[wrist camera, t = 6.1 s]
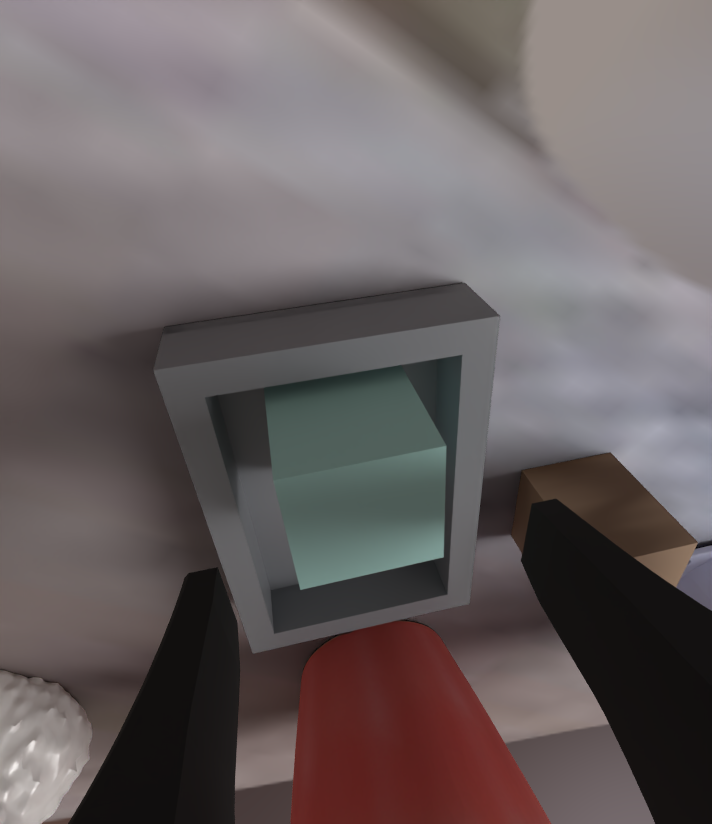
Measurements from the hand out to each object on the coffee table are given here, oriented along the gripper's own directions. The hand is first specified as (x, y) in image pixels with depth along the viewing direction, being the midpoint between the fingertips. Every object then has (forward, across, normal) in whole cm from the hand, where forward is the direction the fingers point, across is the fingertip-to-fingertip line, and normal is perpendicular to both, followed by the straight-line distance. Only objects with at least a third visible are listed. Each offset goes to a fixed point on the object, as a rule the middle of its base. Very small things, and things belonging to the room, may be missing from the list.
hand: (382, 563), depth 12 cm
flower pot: (+7, 0, +17) cm, 18 cm away
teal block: (+6, 0, 0) cm, 6 cm away
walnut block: (+7, -9, +7) cm, 14 cm away
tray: (+7, 0, +3) cm, 7 cm away
